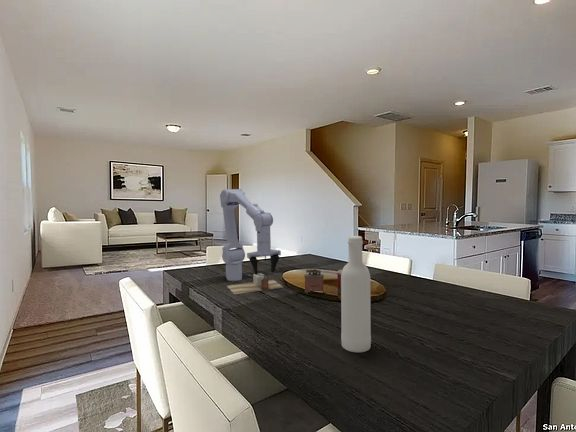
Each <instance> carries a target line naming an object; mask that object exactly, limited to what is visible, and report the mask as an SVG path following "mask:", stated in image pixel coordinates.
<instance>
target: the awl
mask: <svg viewBox="0 0 576 432" xmlns="http://www.w3.org/2000/svg"><path fill="white" fill-rule="evenodd" d="M263 275H264V278H263V280H261V289H268V280H269V279H267V277H266V278H265V276H266V275H265V274H263Z"/></svg>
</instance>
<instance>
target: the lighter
mask: <svg viewBox="0 0 576 432" xmlns="http://www.w3.org/2000/svg"><path fill="white" fill-rule="evenodd" d="M305 273H307V274H304V293H305V294H308V292H310V291H323V290H324V278H325V277H324V274H322V270H321V269H317V268H313V269H312V268H311V269H310V268H306V269H305ZM324 291H325V290H324Z"/></svg>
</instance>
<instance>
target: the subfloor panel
mask: <svg viewBox="0 0 576 432" xmlns="http://www.w3.org/2000/svg"><path fill="white" fill-rule="evenodd" d="M226 287H227V288H228V290H230V291H231V293H233V295H239V294H245V293H246V294H247V293H253V292H259V291H267V290H268V291H269V290H274V289H283V288H284V285H282V284H280V283H279V282H278V281H276V280H274V279H268V289H261V286H256V285H255V284H254V283H253V281H251V282H244V283H237V284H236V283H235V284H229V285H226Z"/></svg>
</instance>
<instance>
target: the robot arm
mask: <svg viewBox="0 0 576 432" xmlns="http://www.w3.org/2000/svg"><path fill="white" fill-rule="evenodd" d="M219 200H220V206H221V208H222V212H223V213H222V214H223V221H224V229H225V236H226V237H225V238H226V244H225V245H224V246H223V247H222V248H221V249H222V253H221V254H222V255H221V257H222V258H221V259H222V261H223V262H224V263H225V278H226V280H227V281H229V282H231V281H232V282H237V281H240V280H242V279H243V272H242V271H243V268H242V266H243V265H242V263H243V262H244V260H245V258H247V259H249V262H250V263H251V264H250V265H252V269H253V274H255V275H257V274H259V271H258V261H259V260H258V259H257V258H261V257H270V263H271V264H270V270H271V273H275V272H276V267H277V264H278V262H279V260H280V256H281V255H282V253H281V250H280V249H278V250H277V249H274V250H271V249H272V248H271V247H272V245H271V240H272V239H271V238H272V237H271V226H272V225H273V223H274V218H273V215H272V213H270V212H265V211H264V210H263V208H261V207H260V206H259V204H257V203H252V202H251V201H250V200H249V199H248V198H247V197H246V194H245V191H243V189H241V188H238V189H236V188H235V189H233V188H231V189H230V188H229V189H227V188H224V189H222V191H221V192H220V194H219ZM239 205H240V206H242V207H243V208H244V209H245V212H246V214H247V215H248V216H249V218H251V219H252V220H253V225H254V227H255V232H256V250H257V251H253V252H247V253H246V252H245V250H244V247H243V244H241V243H240V242H239V239H238V238H239V237H238V232H237V222H236V214H235V209H236V208H237V207H239Z"/></svg>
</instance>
